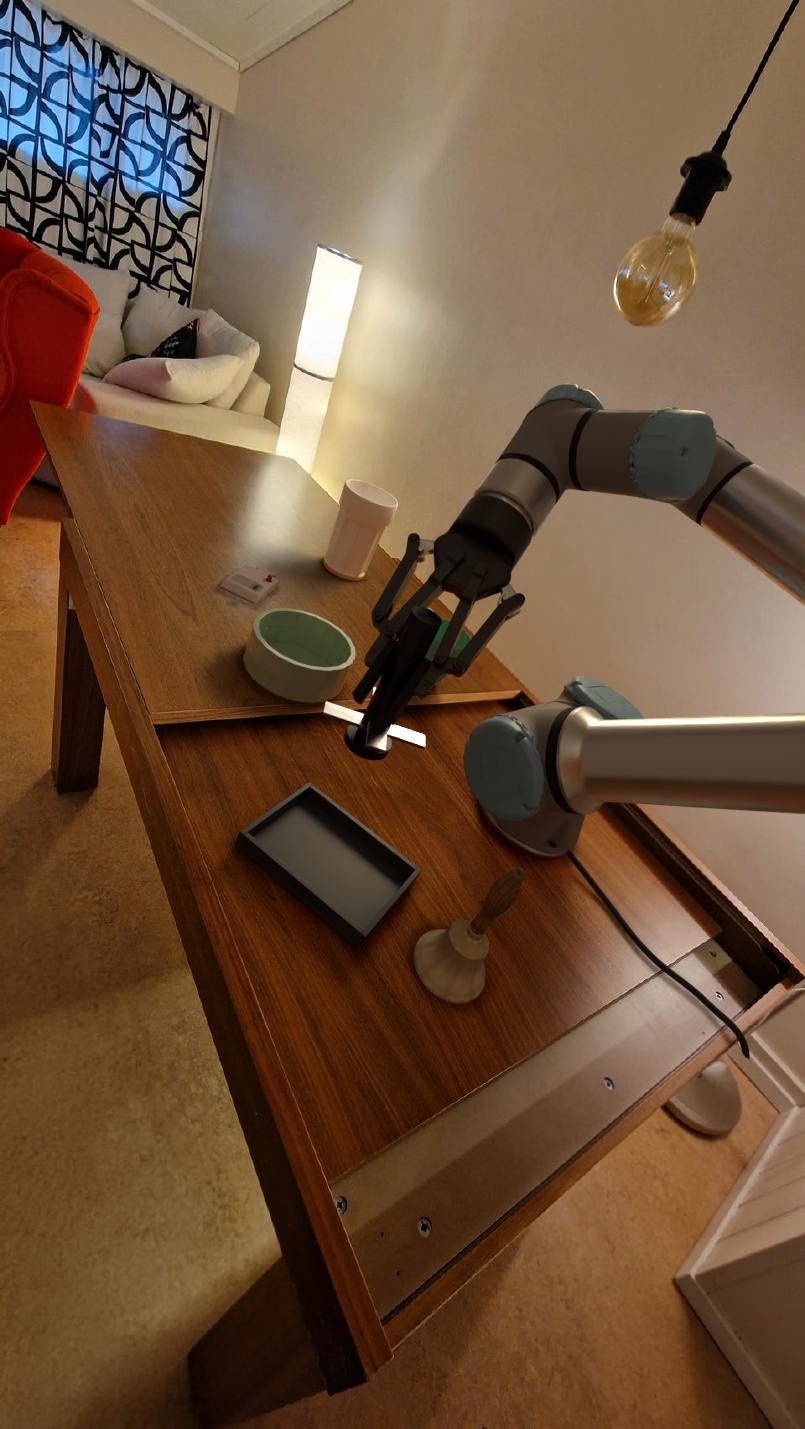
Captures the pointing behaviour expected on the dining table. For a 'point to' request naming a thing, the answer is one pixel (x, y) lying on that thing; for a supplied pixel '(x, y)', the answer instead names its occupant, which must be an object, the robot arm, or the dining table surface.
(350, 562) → the cup
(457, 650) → the mug
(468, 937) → the hand bell
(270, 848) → the tray
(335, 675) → the green bowl
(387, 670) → the blade
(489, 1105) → the dining table surface
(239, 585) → the remote control
